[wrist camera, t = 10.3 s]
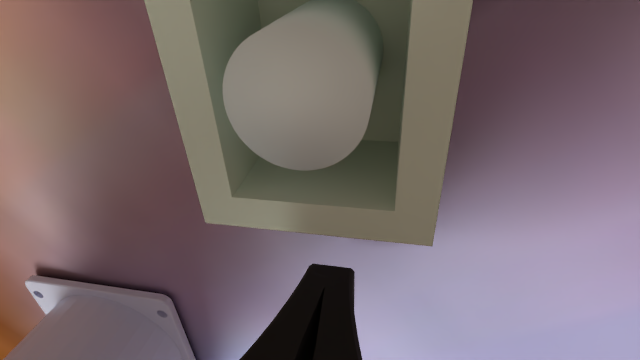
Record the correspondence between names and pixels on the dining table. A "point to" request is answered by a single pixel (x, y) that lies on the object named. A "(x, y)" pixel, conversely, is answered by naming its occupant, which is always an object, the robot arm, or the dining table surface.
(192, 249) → the dining table surface
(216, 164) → the tray
